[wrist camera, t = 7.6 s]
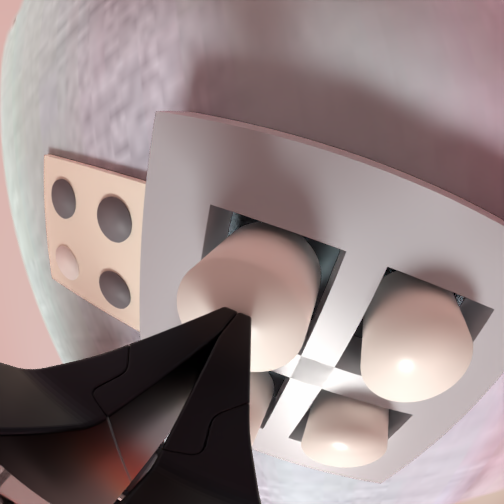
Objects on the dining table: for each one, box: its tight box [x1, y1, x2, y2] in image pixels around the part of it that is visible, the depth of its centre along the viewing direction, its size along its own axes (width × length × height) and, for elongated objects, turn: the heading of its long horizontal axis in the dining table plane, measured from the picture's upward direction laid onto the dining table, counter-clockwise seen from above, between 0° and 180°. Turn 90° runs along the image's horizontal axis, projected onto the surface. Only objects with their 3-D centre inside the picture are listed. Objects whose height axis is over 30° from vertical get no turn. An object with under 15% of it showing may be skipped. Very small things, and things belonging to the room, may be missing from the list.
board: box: [140, 111, 504, 483], centre depth 12 cm, size 16×16×2 cm
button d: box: [177, 222, 321, 372], centre depth 10 cm, size 4×4×3 cm
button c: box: [360, 270, 473, 402], centre depth 10 cm, size 4×4×3 cm
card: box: [44, 154, 146, 332], centre depth 16 cm, size 9×9×1 cm
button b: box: [249, 371, 274, 446], centre depth 12 cm, size 4×4×3 cm
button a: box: [301, 389, 389, 467], centre depth 12 cm, size 4×4×3 cm
